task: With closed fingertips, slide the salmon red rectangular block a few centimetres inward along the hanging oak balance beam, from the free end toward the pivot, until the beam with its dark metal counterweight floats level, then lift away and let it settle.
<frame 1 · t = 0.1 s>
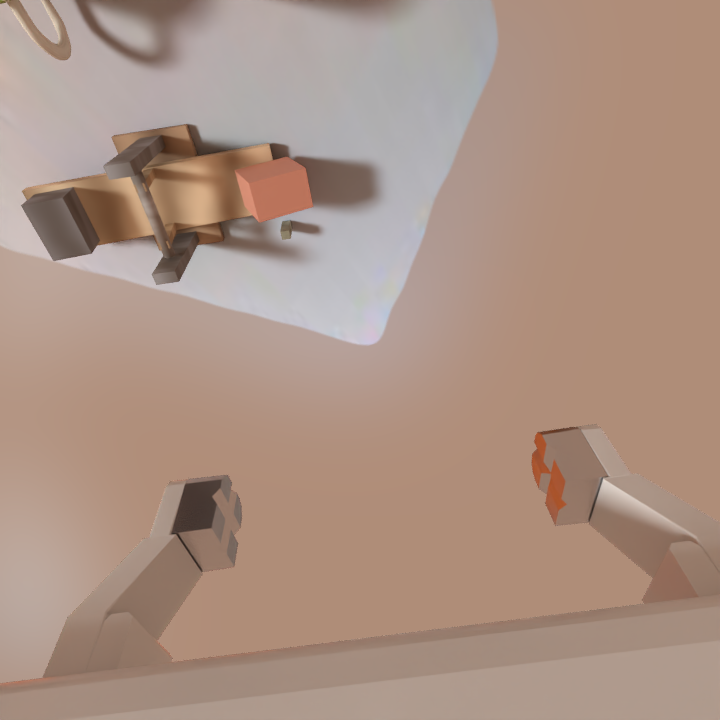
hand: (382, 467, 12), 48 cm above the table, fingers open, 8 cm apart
salmon red rectangular block: (265, 181, 52), point 2 cm above the table, tilted 22°, touching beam
stand: (173, 190, 54), on the table
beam: (157, 207, 50), point 5 cm above the table, hinge at 7.0°, touching salmon red rectangular block
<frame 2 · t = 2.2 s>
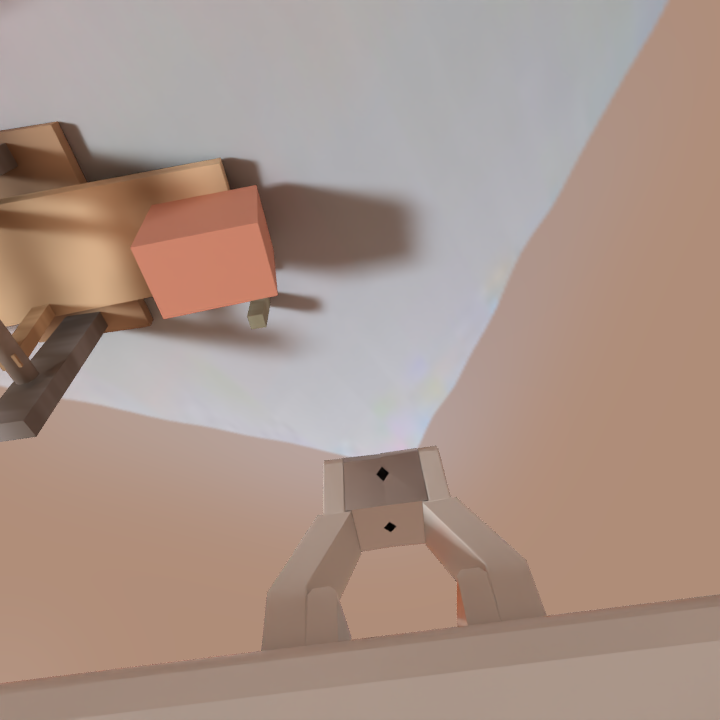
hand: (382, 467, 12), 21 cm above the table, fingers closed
salmon red rectangular block: (215, 228, 28), point 2 cm above the table, tilted 7°, touching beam
stand: (50, 243, 29), on the table
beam: (0, 284, 25), point 5 cm above the table, hinge at 7.0°, touching salmon red rectangular block
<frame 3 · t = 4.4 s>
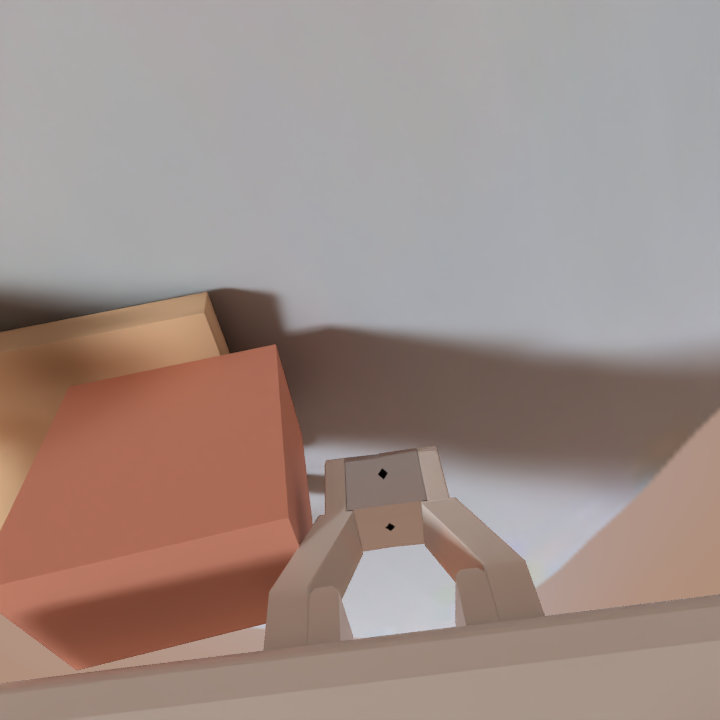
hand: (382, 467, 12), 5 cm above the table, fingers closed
salmon red rectangular block: (197, 413, 15), point 2 cm above the table, tilted 7°, touching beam, gripper
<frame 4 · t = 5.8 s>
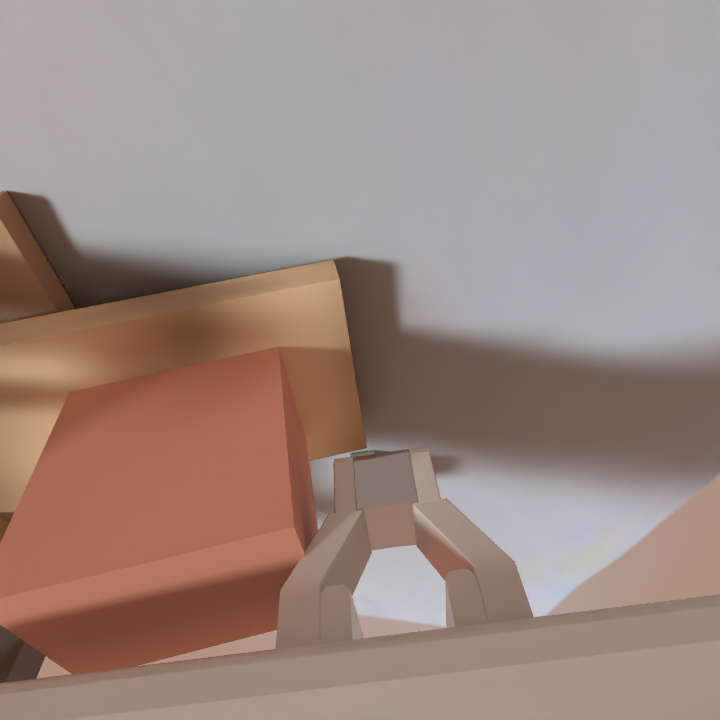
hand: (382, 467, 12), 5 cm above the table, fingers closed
salmon red rectangular block: (199, 417, 15), point 2 cm above the table, tilted 7°, touching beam, gripper
stand: (4, 392, 16), on the table
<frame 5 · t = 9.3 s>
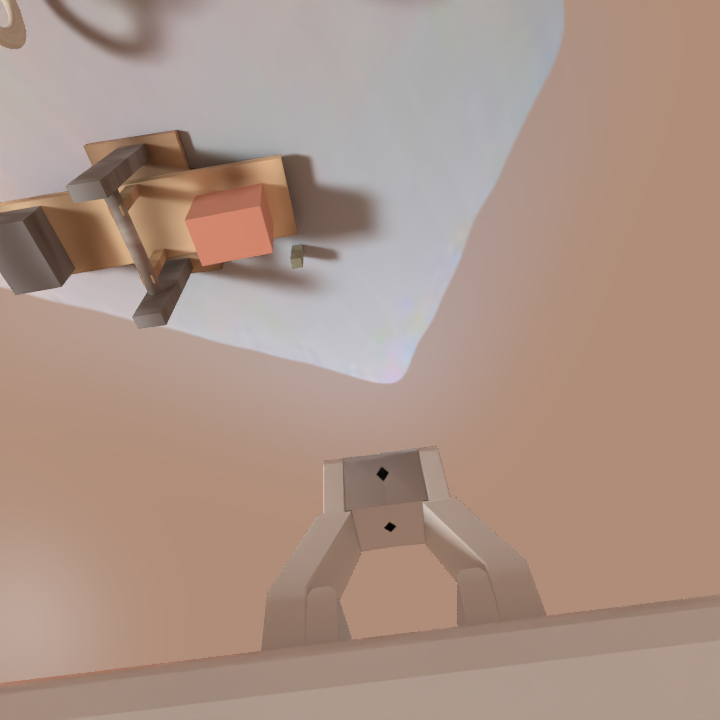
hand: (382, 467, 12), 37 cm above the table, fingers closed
salmon red rectangular block: (235, 211, 43), point 3 cm above the table, touching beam
stand: (161, 209, 45), on the table
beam: (142, 232, 40), point 5 cm above the table, hinge at 4.3°, touching salmon red rectangular block
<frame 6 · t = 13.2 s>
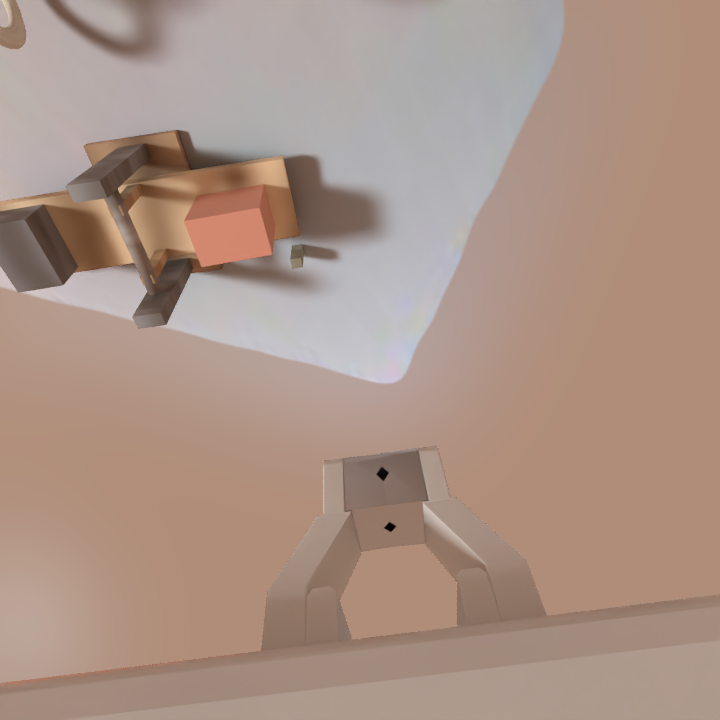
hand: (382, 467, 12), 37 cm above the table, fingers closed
salmon red rectangular block: (237, 211, 42), point 3 cm above the table, touching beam
stand: (160, 209, 45), on the table
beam: (143, 231, 40), point 5 cm above the table, hinge at 2.3°, touching salmon red rectangular block
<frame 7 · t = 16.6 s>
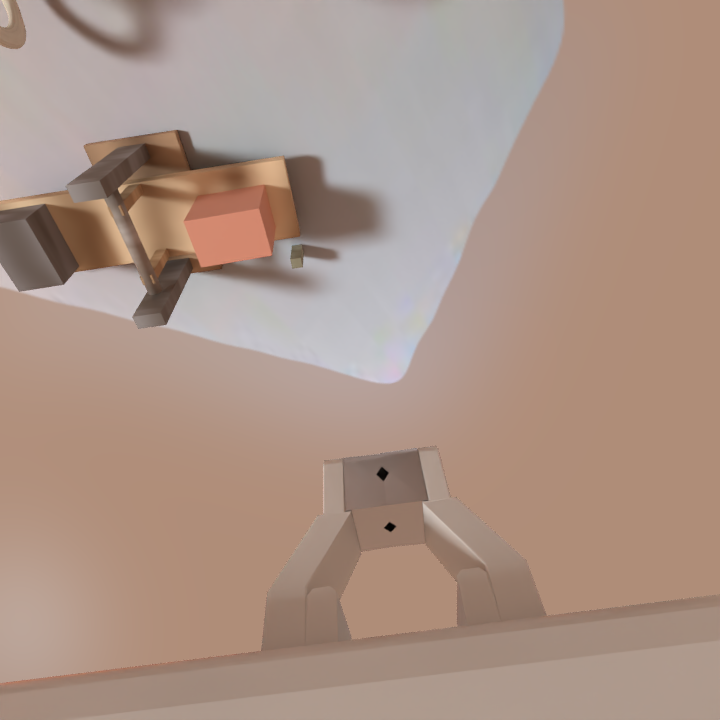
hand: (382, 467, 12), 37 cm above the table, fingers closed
salmon red rectangular block: (237, 212, 42), point 3 cm above the table, touching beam
stand: (160, 209, 45), on the table
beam: (143, 231, 40), point 5 cm above the table, hinge at 1.6°, touching salmon red rectangular block
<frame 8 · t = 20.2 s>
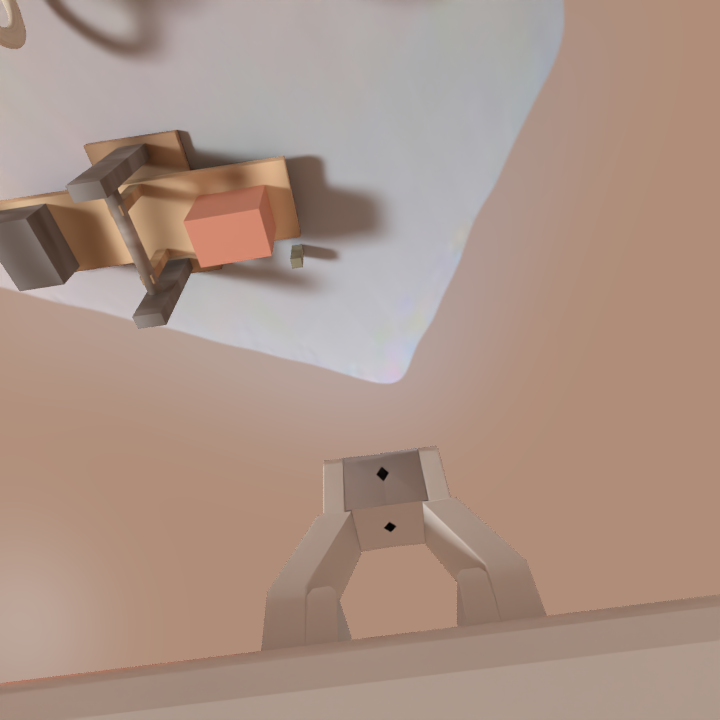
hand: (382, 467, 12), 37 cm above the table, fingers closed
salmon red rectangular block: (238, 212, 42), point 3 cm above the table, touching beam
stand: (160, 209, 45), on the table
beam: (143, 231, 40), point 5 cm above the table, hinge at 1.2°, touching salmon red rectangular block
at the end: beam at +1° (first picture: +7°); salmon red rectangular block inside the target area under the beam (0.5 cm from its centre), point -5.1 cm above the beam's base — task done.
